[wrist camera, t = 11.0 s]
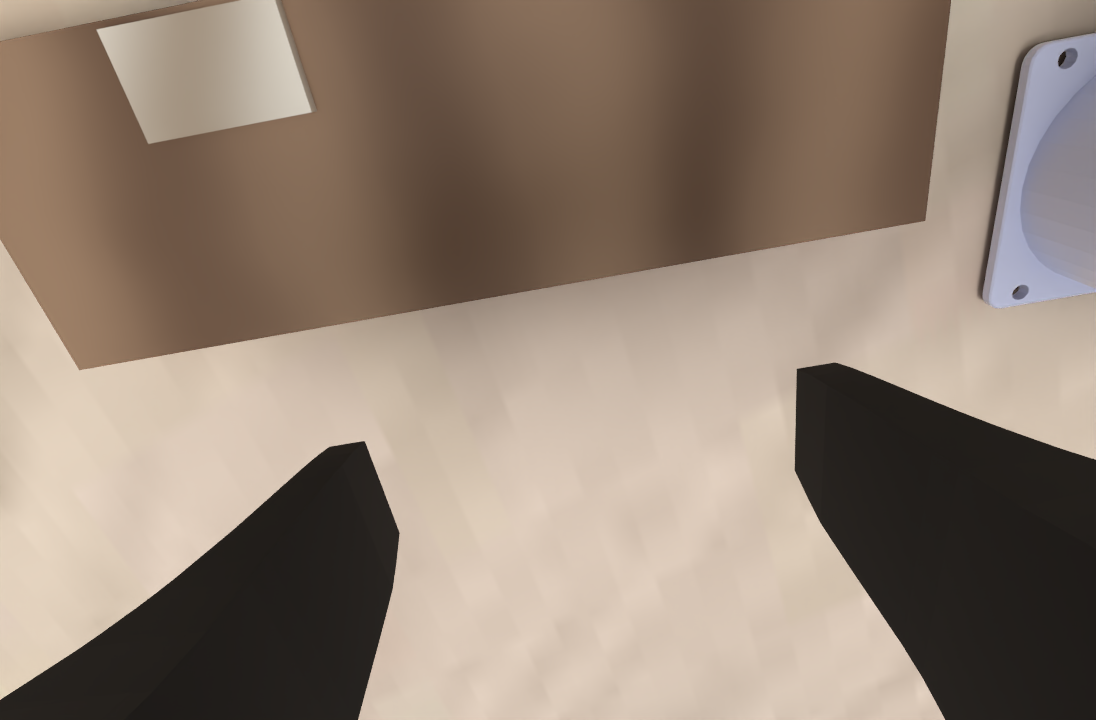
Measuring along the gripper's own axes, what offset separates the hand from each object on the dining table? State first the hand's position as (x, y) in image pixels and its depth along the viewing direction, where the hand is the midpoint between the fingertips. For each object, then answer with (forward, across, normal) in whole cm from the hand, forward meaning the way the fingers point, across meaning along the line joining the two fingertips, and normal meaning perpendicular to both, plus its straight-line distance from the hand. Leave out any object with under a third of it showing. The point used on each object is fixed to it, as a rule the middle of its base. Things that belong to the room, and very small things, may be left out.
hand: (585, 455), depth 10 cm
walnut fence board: (+10, +2, -4) cm, 11 cm away
